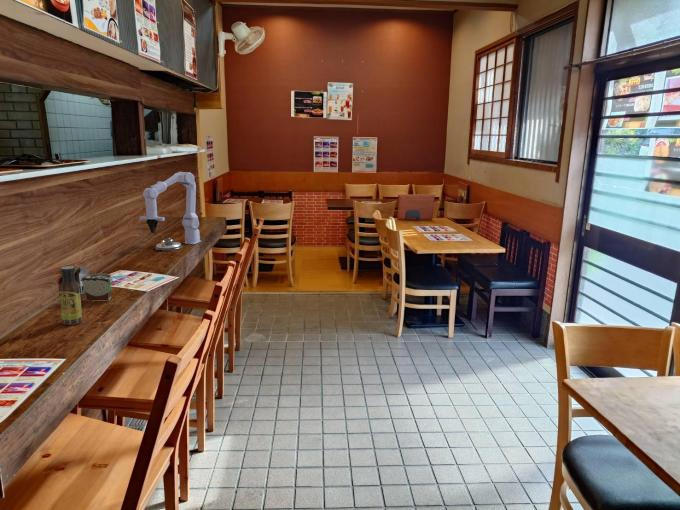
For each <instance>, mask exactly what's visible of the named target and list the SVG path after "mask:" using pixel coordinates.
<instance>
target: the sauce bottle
mask: <svg viewBox="0 0 680 510" xmlns="http://www.w3.org/2000/svg"><path fill="white" fill-rule="evenodd" d="M60 272H61V283H60V285H59V287H58V289H59V291H58V294H59V295H58V296H59V307H60V309H59V310H60V318H61V320H62V321H61V322H62V324H63V325H67V326H74V325H75V326H76V325H77V324H81V323H82V322H83V319H82V318H83V312H82V301H81V299H82V298H81V291H80V285H79V284H78V283H79V282H77V281H76V278H75V267H74V266H73V265H72V266H71V265H68V266H67V265H66V266H63V267H60ZM80 322H81V323H80Z"/></svg>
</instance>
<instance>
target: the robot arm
mask: <svg viewBox="0 0 680 510" xmlns="http://www.w3.org/2000/svg"><path fill="white" fill-rule="evenodd" d="M177 182H178V183H180V184H182V185H183V186H184V187H185V188H186V197H185V199H186V201H185V213H184V214H183V217H182V218H183V219H182V220H181V224H182V227H184V238H185V242H183V243H185V244H186V245H196V244H198V243H201V242H202V240H201V235H200V229H198V228H199V226H200V221H199V217H198V215H197V213H196V204H197V203H196V197H197V195H196V194H197V193H196V192H197V184H196V181H195V175H194V174H193V173H192V172H190V171H189V172H186V171H184V172H183V171H178V172H175V173H174V174H173V175H172V176H170V177H168V178H167V179H166V180H164V181H157V182H156V183H155V184H153V185H150V187H146V188H145V189H144V190H143V192H142V196H143V198H144V201H145V211H146V215H141V216H139V220H140V221H142V220H143V221H145V222H146V223H145V224H147V225H148V228H149V230H150V233H151V234H154V233H156V230H157V226H158V223H159V222H160V221H161V222H164V221H166V219H165V217H164V216H158V208H157V207H158V206H157V198H158V196H159V195H160V194H162V193H164V192H166V190H167V188H168V187H170V186H171V185H172V186H173V184H175V183H177ZM185 244H184V245H185Z"/></svg>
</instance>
